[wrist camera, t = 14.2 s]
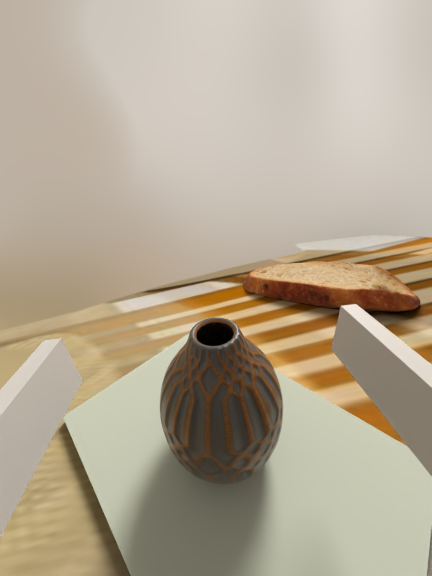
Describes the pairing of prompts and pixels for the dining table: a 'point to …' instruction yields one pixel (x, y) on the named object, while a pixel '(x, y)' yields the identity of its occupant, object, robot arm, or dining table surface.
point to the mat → (255, 491)
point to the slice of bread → (333, 286)
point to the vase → (221, 404)
